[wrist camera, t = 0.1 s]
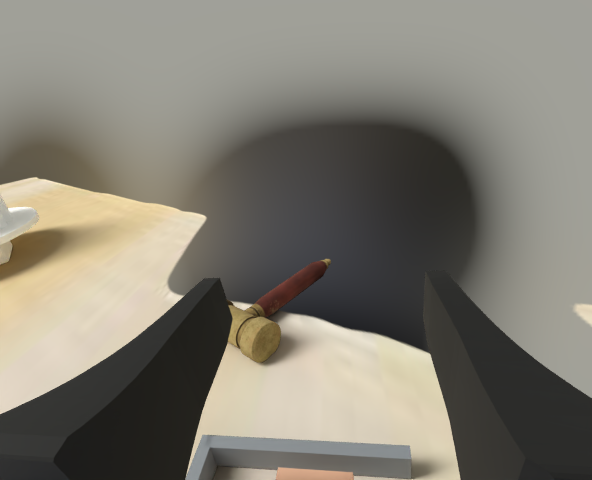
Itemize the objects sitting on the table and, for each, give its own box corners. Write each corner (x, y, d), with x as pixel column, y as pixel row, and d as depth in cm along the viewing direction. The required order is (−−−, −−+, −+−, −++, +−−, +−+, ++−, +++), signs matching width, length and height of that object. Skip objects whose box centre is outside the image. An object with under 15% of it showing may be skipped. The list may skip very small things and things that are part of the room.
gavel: (302, 240, 57) (357, 255, 51) (305, 265, 59) (358, 282, 53) (192, 306, 43) (249, 338, 37) (200, 337, 45) (255, 371, 39)
